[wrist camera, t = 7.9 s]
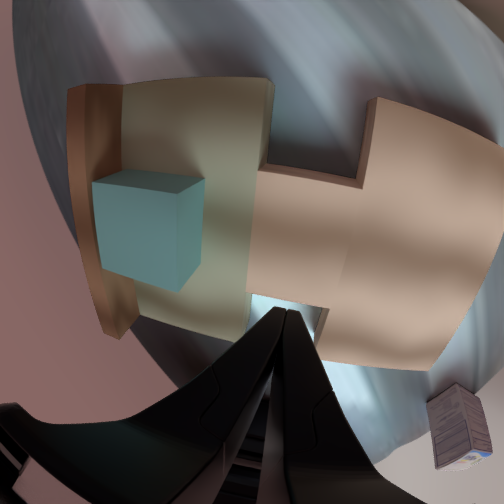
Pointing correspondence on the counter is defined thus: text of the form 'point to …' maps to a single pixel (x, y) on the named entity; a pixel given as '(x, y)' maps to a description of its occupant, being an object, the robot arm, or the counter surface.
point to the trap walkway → (297, 217)
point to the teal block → (150, 225)
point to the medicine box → (458, 429)
